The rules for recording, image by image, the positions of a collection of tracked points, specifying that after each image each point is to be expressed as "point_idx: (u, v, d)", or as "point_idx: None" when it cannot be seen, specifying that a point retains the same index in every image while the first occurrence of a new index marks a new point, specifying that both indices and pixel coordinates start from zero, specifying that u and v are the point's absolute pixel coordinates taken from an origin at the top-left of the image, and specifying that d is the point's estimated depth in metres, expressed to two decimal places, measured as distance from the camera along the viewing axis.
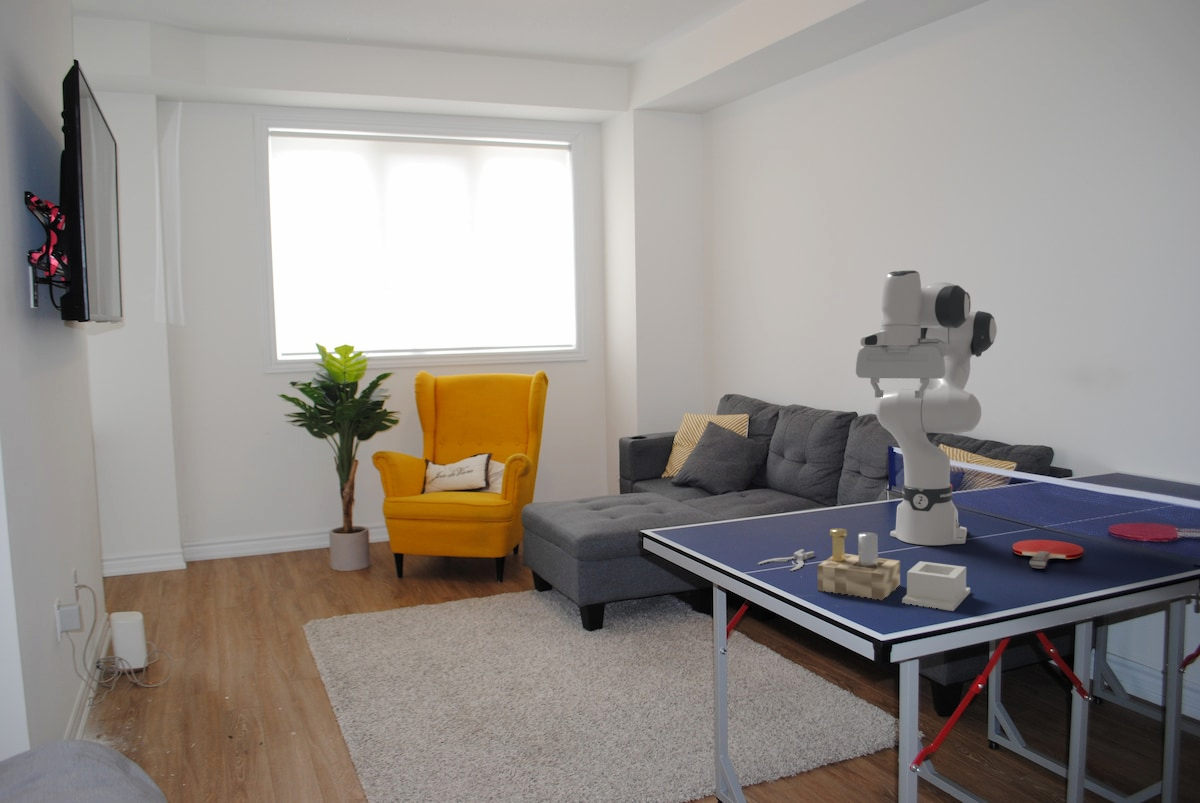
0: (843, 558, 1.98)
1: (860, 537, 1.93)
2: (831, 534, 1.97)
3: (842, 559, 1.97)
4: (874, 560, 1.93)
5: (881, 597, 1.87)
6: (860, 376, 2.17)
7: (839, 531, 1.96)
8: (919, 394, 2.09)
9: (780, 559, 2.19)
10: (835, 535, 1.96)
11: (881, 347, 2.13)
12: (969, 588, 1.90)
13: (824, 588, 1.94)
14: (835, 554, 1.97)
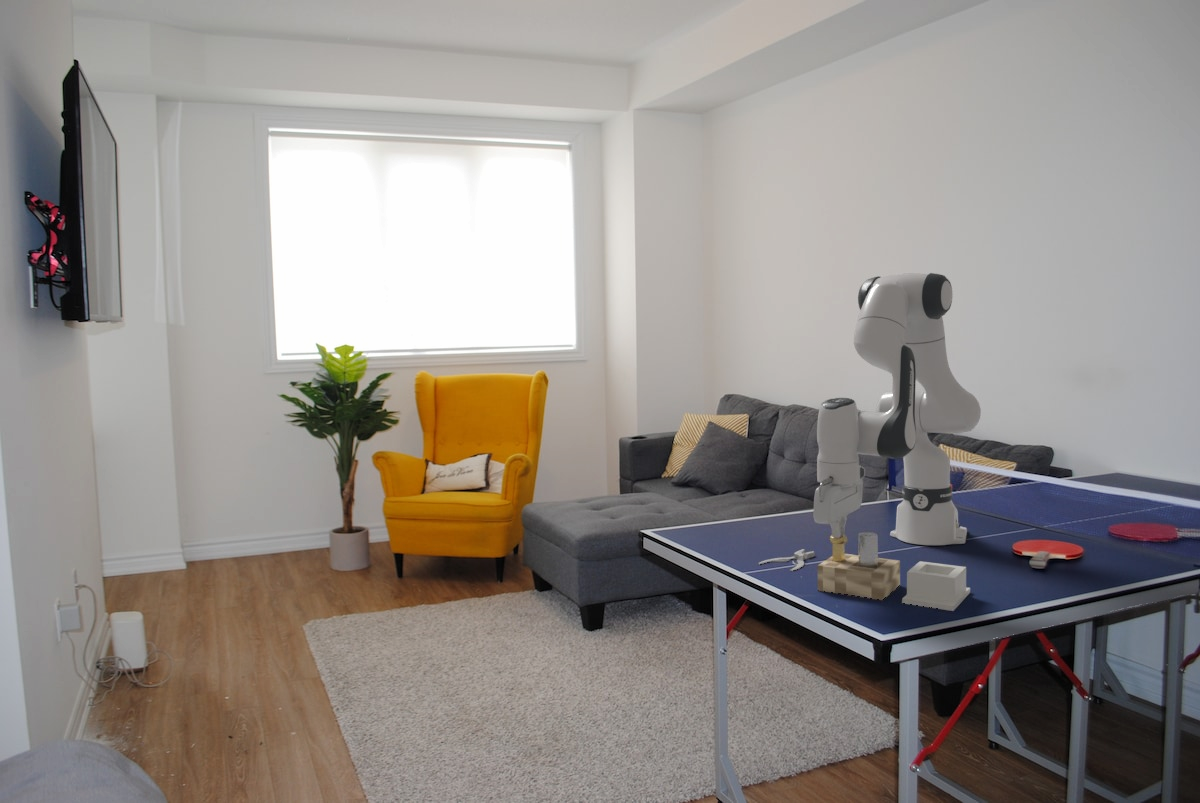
0: None
1: (860, 537, 1.93)
2: (831, 540, 1.97)
3: None
4: (874, 560, 1.93)
5: (881, 597, 1.87)
6: None
7: (839, 537, 1.97)
8: None
9: (780, 559, 2.20)
10: (835, 541, 1.96)
11: None
12: (969, 588, 1.90)
13: (824, 588, 1.94)
14: (835, 560, 1.98)
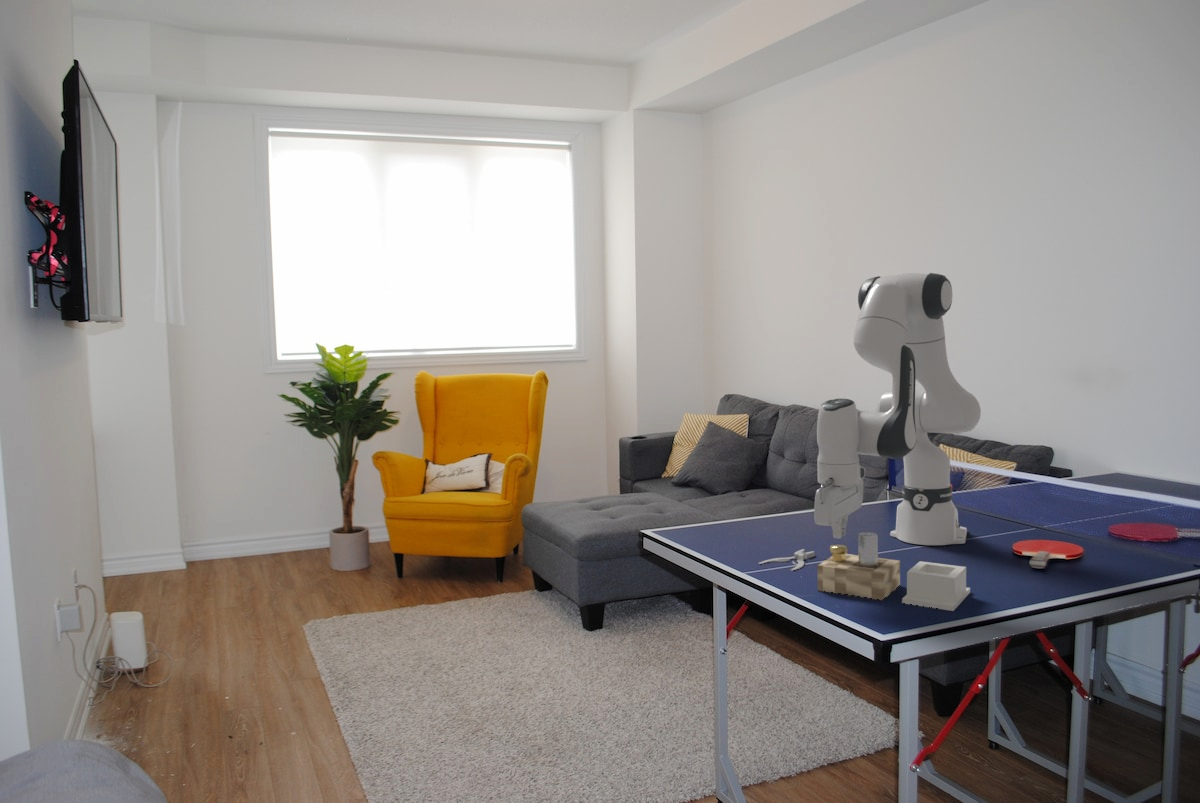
0: None
1: (860, 537, 1.93)
2: (831, 551, 1.97)
3: None
4: (874, 560, 1.93)
5: (881, 597, 1.87)
6: None
7: (839, 548, 1.97)
8: None
9: (781, 559, 2.20)
10: (835, 552, 1.96)
11: None
12: (969, 588, 1.90)
13: (824, 588, 1.94)
14: None
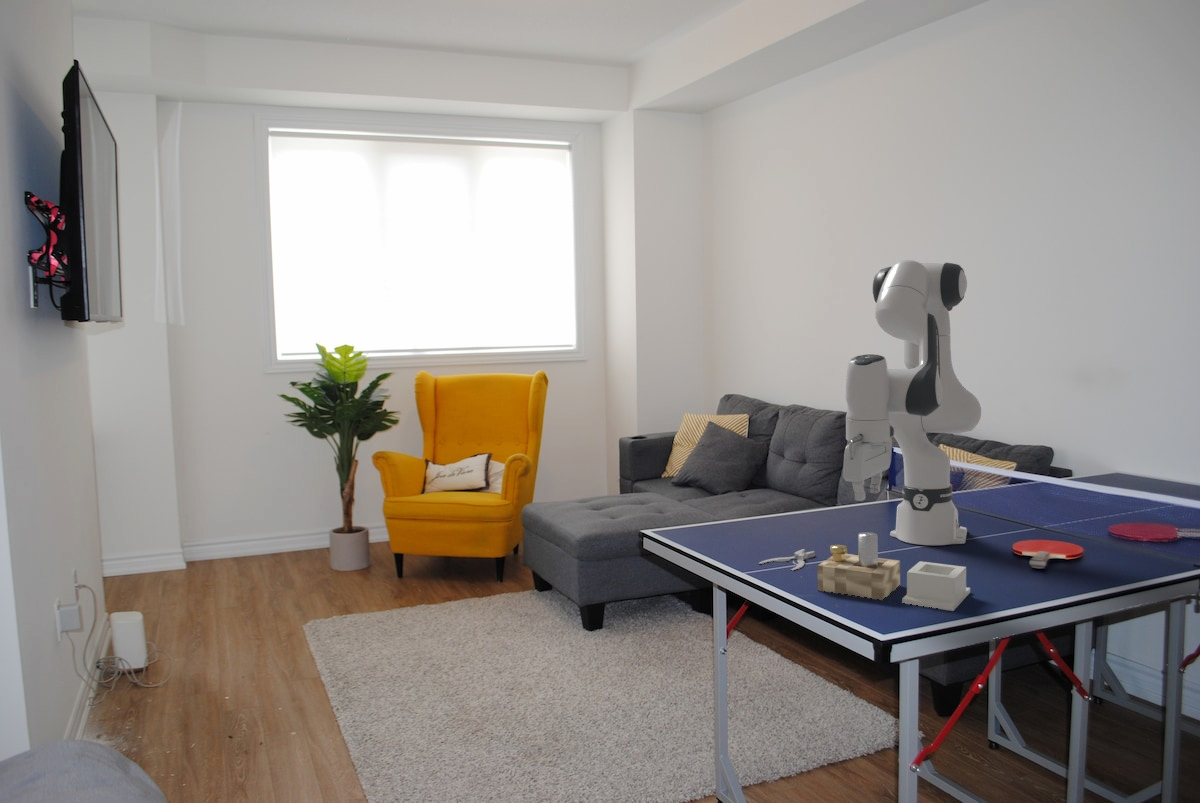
0: None
1: (860, 537, 1.93)
2: (831, 551, 1.97)
3: None
4: (874, 560, 1.93)
5: (881, 597, 1.87)
6: None
7: (839, 548, 1.97)
8: None
9: (781, 559, 2.20)
10: (835, 552, 1.96)
11: None
12: (969, 588, 1.90)
13: (824, 588, 1.94)
14: None
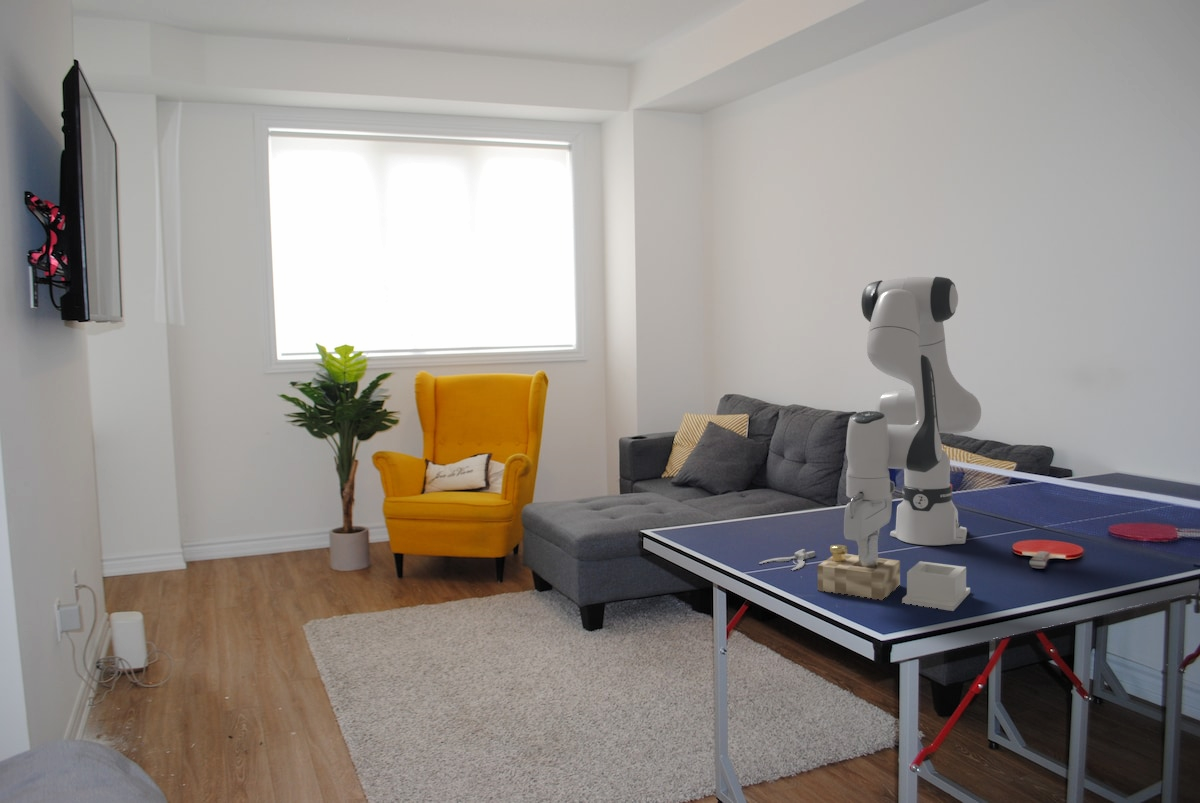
0: None
1: None
2: (831, 551, 1.97)
3: None
4: (874, 560, 1.93)
5: (881, 597, 1.87)
6: None
7: (839, 548, 1.97)
8: None
9: (781, 559, 2.20)
10: (835, 552, 1.96)
11: None
12: (969, 588, 1.90)
13: (824, 588, 1.94)
14: None
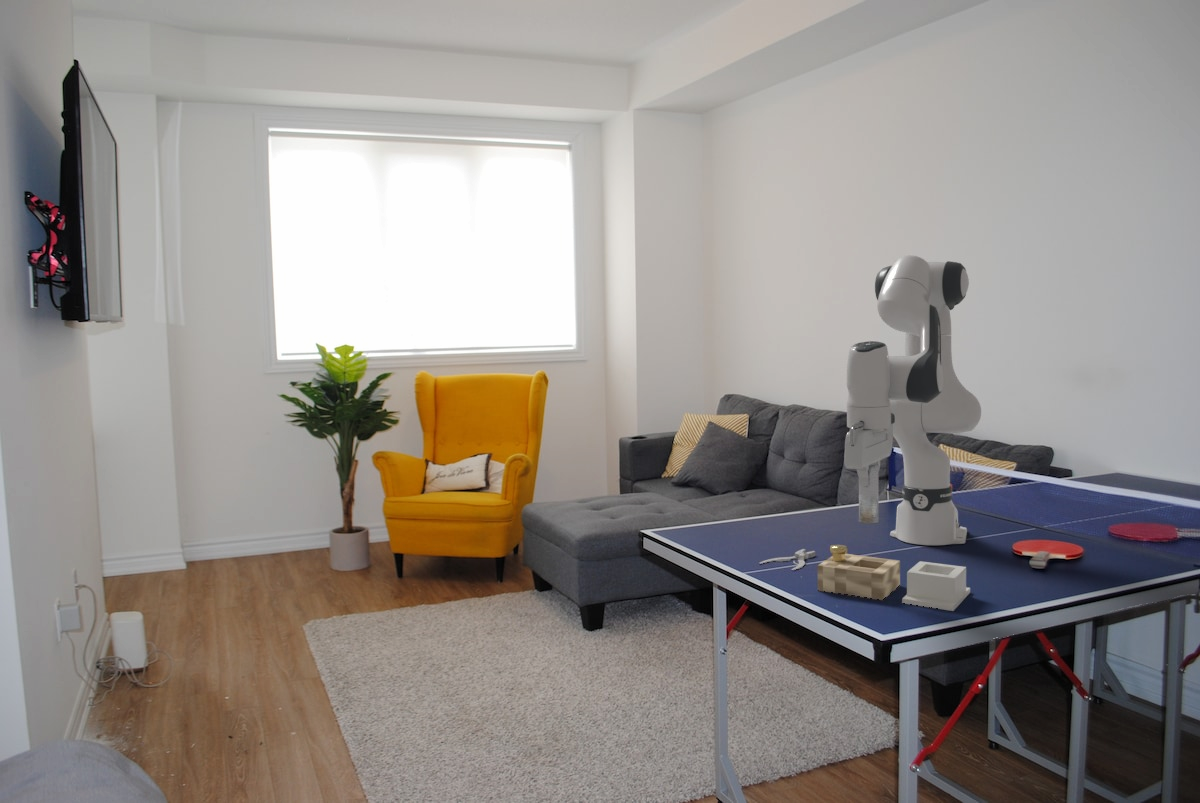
0: None
1: None
2: (831, 551, 1.97)
3: None
4: (875, 491, 1.91)
5: (881, 597, 1.87)
6: None
7: (839, 548, 1.97)
8: None
9: (781, 559, 2.20)
10: (835, 552, 1.96)
11: None
12: (969, 588, 1.90)
13: (824, 588, 1.94)
14: None
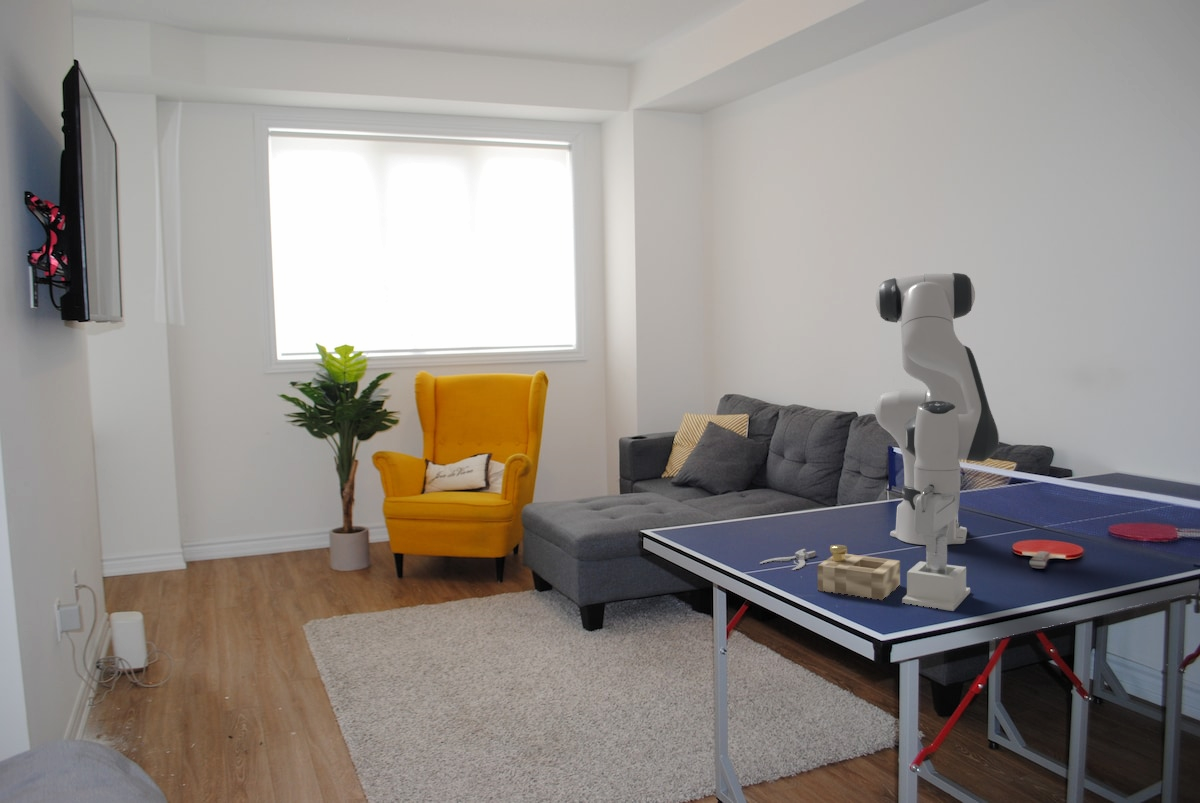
0: None
1: None
2: (831, 551, 1.97)
3: None
4: (944, 563, 1.85)
5: (881, 597, 1.87)
6: None
7: (839, 548, 1.97)
8: None
9: (782, 559, 2.20)
10: (835, 552, 1.96)
11: None
12: (969, 588, 1.90)
13: (824, 588, 1.94)
14: None
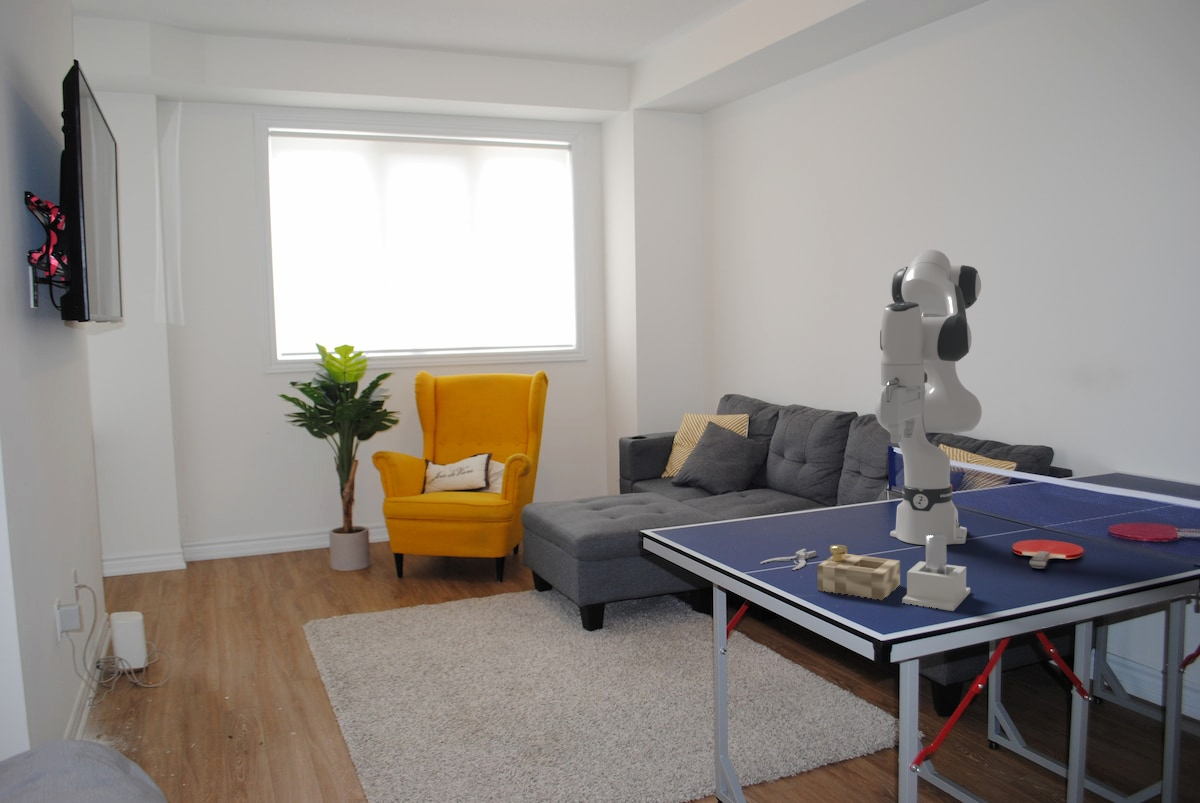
0: None
1: (927, 538, 1.86)
2: (831, 551, 1.97)
3: None
4: (943, 562, 1.85)
5: (881, 597, 1.87)
6: None
7: (839, 548, 1.97)
8: None
9: (782, 558, 2.20)
10: (835, 552, 1.96)
11: None
12: (969, 588, 1.90)
13: (824, 588, 1.94)
14: None
